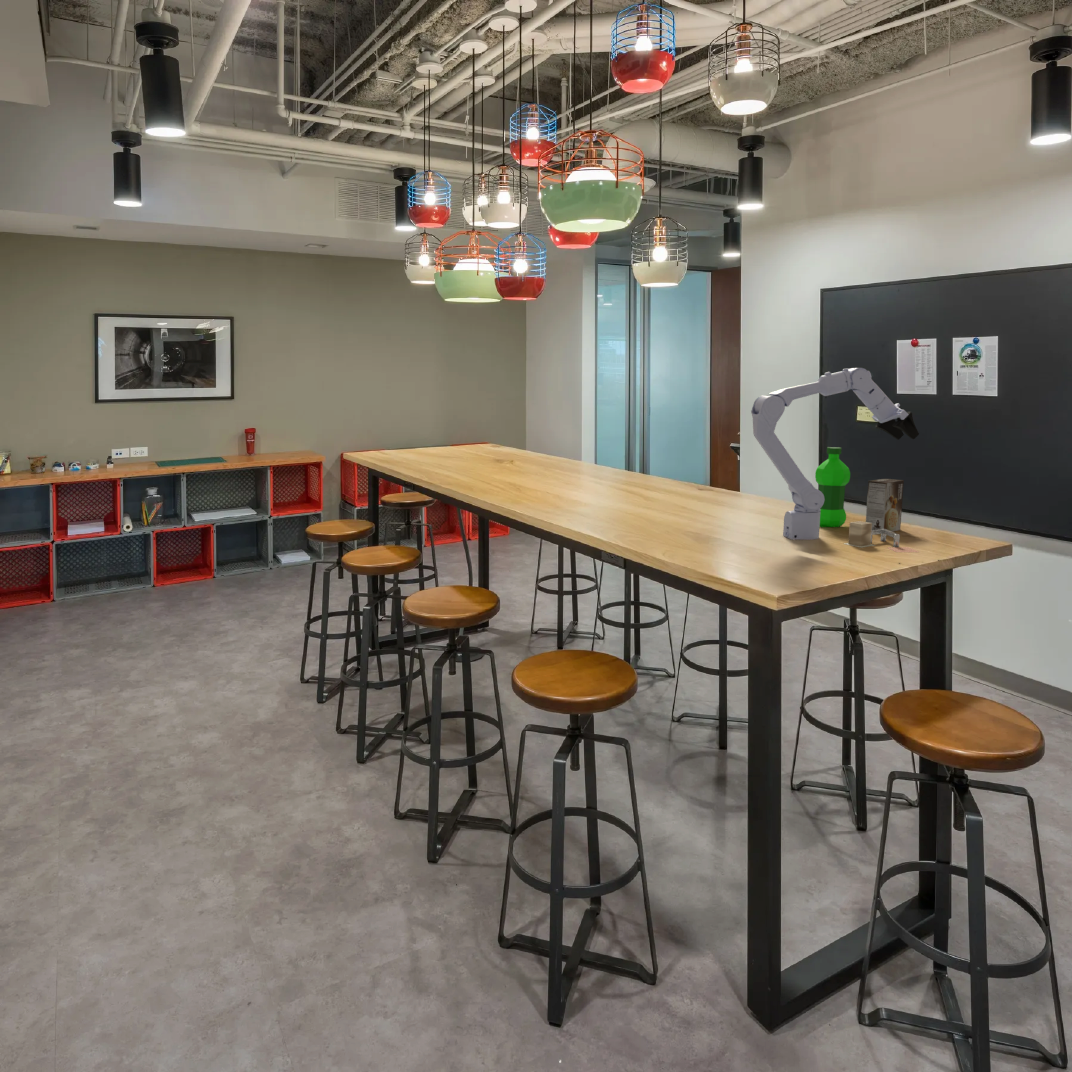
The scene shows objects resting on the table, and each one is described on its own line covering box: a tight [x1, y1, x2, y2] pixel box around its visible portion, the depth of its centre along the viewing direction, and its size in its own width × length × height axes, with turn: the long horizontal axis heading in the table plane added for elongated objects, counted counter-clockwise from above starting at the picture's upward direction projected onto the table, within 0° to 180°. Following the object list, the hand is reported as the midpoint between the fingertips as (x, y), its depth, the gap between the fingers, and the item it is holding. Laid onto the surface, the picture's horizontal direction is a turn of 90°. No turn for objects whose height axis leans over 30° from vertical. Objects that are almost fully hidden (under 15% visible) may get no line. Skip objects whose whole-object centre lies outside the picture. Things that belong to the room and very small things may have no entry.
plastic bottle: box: [814, 446, 851, 528], centre depth 252 cm, size 10×10×25 cm
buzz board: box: [843, 542, 919, 553], centre depth 221 cm, size 16×18×1 cm
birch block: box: [847, 520, 872, 547], centre depth 222 cm, size 4×4×6 cm
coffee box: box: [865, 478, 905, 532], centre depth 244 cm, size 9×6×16 cm
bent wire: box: [870, 529, 901, 547], centre depth 223 cm, size 7×9×4 cm
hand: (908, 437), depth 229 cm, fingers open, 7 cm apart
